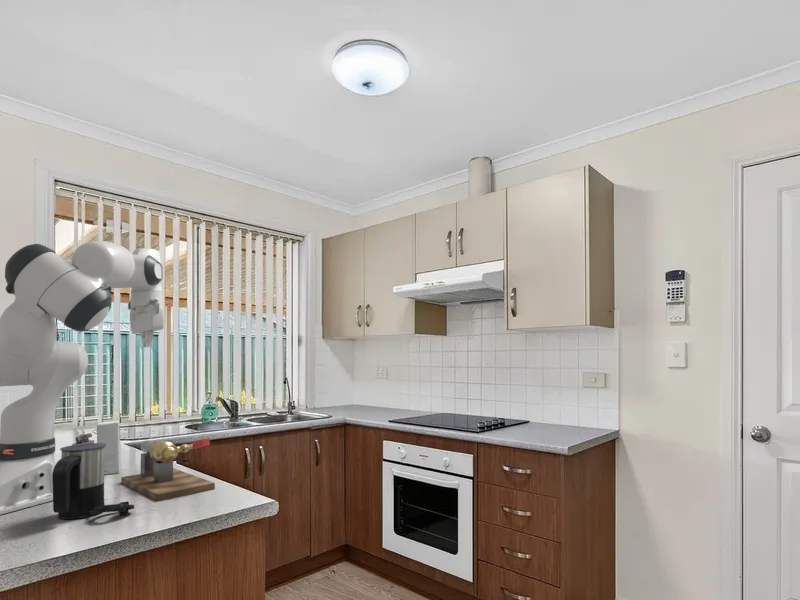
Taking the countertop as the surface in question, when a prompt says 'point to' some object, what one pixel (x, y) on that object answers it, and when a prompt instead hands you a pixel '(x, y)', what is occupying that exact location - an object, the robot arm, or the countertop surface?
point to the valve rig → (164, 474)
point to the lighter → (83, 439)
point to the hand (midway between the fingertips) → (147, 347)
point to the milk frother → (82, 483)
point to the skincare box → (110, 445)
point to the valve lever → (195, 445)
